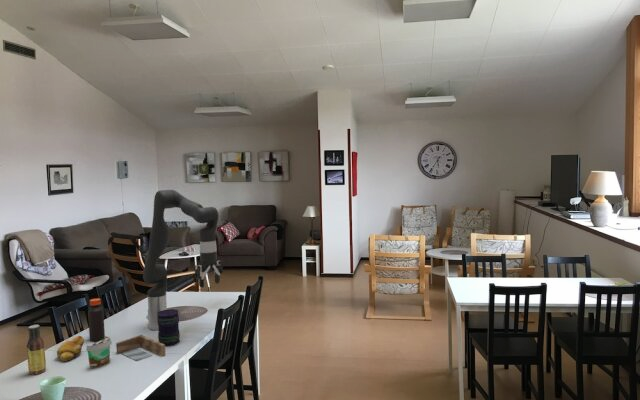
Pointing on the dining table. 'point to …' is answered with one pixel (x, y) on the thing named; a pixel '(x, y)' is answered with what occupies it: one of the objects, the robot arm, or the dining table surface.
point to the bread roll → (70, 348)
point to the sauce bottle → (35, 351)
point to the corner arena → (132, 345)
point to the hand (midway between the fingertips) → (209, 285)
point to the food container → (99, 353)
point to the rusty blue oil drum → (168, 327)
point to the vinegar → (96, 320)
